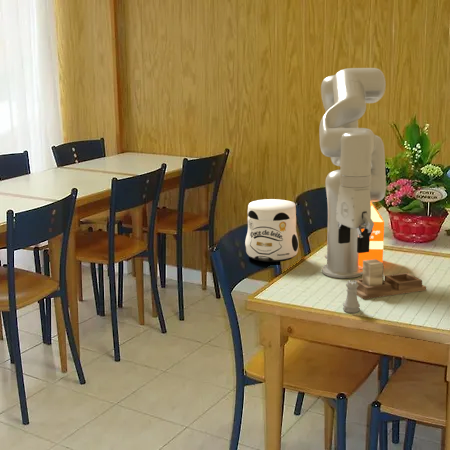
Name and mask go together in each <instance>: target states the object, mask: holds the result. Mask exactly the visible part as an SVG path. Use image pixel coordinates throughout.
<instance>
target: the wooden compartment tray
mask: <svg viewBox="0 0 450 450" xmlns="http://www.w3.org/2000/svg"><path fill="white" fill-rule="evenodd" d="M362 268H363V274H362V275H361V276H362V278H358V279H354V280H355V281H357V284H358V287H357V297H359V298H360V299H362V300H369V299H375V298H381V297H382V298H384V297H389V296H394V295H402V294H409V293H415V292H417V293H418V292H423V291H427V286H426V285H424V284H423V280H422V279H420V278H418V277H417V276H415V275H414V274H413V275H412V274H411V273H409V272H402V273H396V274H387V275H384V262H383V263H382V262H380V261H378V260H377V259H372V260H364V261H363V267H362Z"/></svg>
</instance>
